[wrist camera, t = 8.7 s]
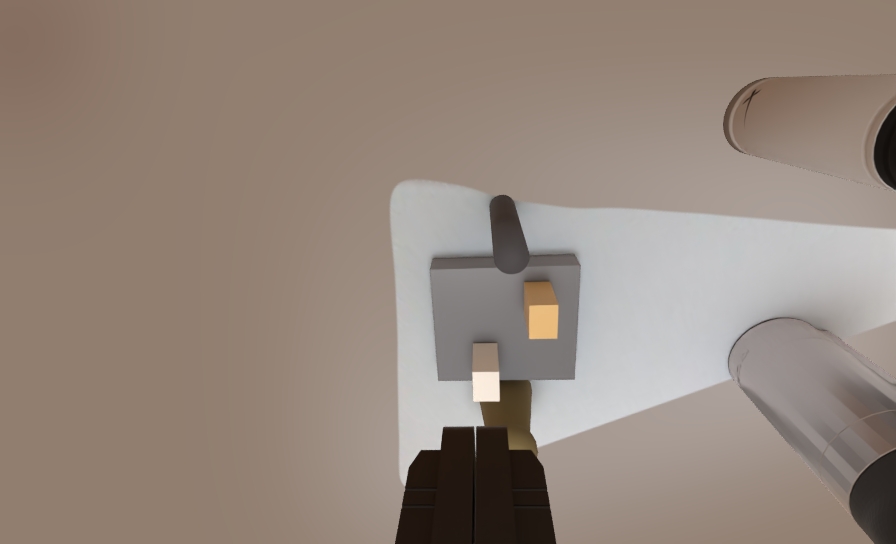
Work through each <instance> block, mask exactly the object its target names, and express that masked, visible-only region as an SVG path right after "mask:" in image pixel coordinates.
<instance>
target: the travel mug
mask: <svg viewBox="0 0 896 544" xmlns="http://www.w3.org/2000/svg"><path fill="white" fill-rule="evenodd" d="M723 127H724V133H725V137H726V139H727V141H728V142H729V144H730V145H731V146H732V147H733V148H734V149H736V150H738V151H739V152H742V153H745V154H749V155H752V156H756V157H760V158H764V159H768V160H772V161H776V162H780V163H784V164H788V165H792V166H796V167H799V168H803V169H807V170H811V171H815V172H819V173H823V174H827V175H831V176H835V177H839V178H842V179H846V180H850V181H854V182H858V183H862V184H866V185H870V186H874V187H878V188H882V189H885V190H889V191H895V192H896V74H883V75H881V74H880V75H845V76H809V77H776V78H775V77H774V78H763V79H760V80H756V81H754V82H752V83H750V84H748V85H747V86H745V87H744V88H742V89H741V90H740V91H739V92H738V93H737V94H736V95H735V96H734V98H733V99H732V100H731V102H730V103H729V105H728V108H727V109H726V112H725V116H724V122H723Z"/></svg>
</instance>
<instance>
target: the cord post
mask: <svg viewBox="0 0 896 544" xmlns="http://www.w3.org/2000/svg"><path fill="white" fill-rule="evenodd" d="M490 219H491V231H492V243H493V255H494V263H495V265H496V267H497V268H498V269H499V270H500V271H501V272H503V273H506V274H517V273H519V272H521V271H523V270H524V269H525V268H526V267H527V265H528V263H529V258H530V256H529V251H528V248H527V245H526V241H525V238H524V234H523V231H522V228H521V224H520V221H519V217H518V214H517V211H516V207H515V204H514V201H513V200H512V199H511V198H510V197H509V196H506V195H499V196H497V197H495V198H494V199H493V200H492V201H491V203H490Z"/></svg>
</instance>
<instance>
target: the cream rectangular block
mask: <svg viewBox="0 0 896 544" xmlns="http://www.w3.org/2000/svg"><path fill="white" fill-rule="evenodd" d="M472 377H473V400H474V402H481V401H500V389H499V362H498V347H497V343H473V365H472Z"/></svg>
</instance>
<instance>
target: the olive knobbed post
mask: <svg viewBox="0 0 896 544" xmlns="http://www.w3.org/2000/svg"><path fill="white" fill-rule="evenodd" d="M499 389H500V401H481V402H480V405H481V410H482V415H483V420H484V425H485V426H507V431H508V443H509V450H532V451H533V453H534V454H535V456H536V457H537V454H538V451H537V445H536V441H535V439H534V437H533V436H532V434H531V433H530V419H531V396H532V389H531V384H530V382H529V380H499Z"/></svg>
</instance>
